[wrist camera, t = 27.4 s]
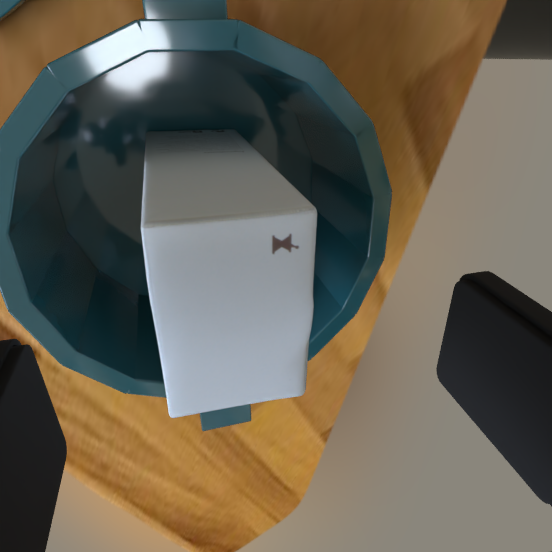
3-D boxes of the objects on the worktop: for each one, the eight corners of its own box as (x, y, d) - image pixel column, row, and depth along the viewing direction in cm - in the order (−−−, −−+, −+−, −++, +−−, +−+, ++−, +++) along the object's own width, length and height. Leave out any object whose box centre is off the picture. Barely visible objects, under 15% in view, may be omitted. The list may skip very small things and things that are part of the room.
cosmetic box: (142, 129, 19) (135, 217, 9) (235, 127, 20) (326, 203, 10) (158, 251, 22) (166, 425, 12) (239, 244, 23) (312, 398, 13)
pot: (330, -41, 18) (427, -93, 12) (316, 325, 27) (367, 407, 21) (-31, -54, 15) (-161, -132, 9) (89, 363, 24) (68, 474, 18)
